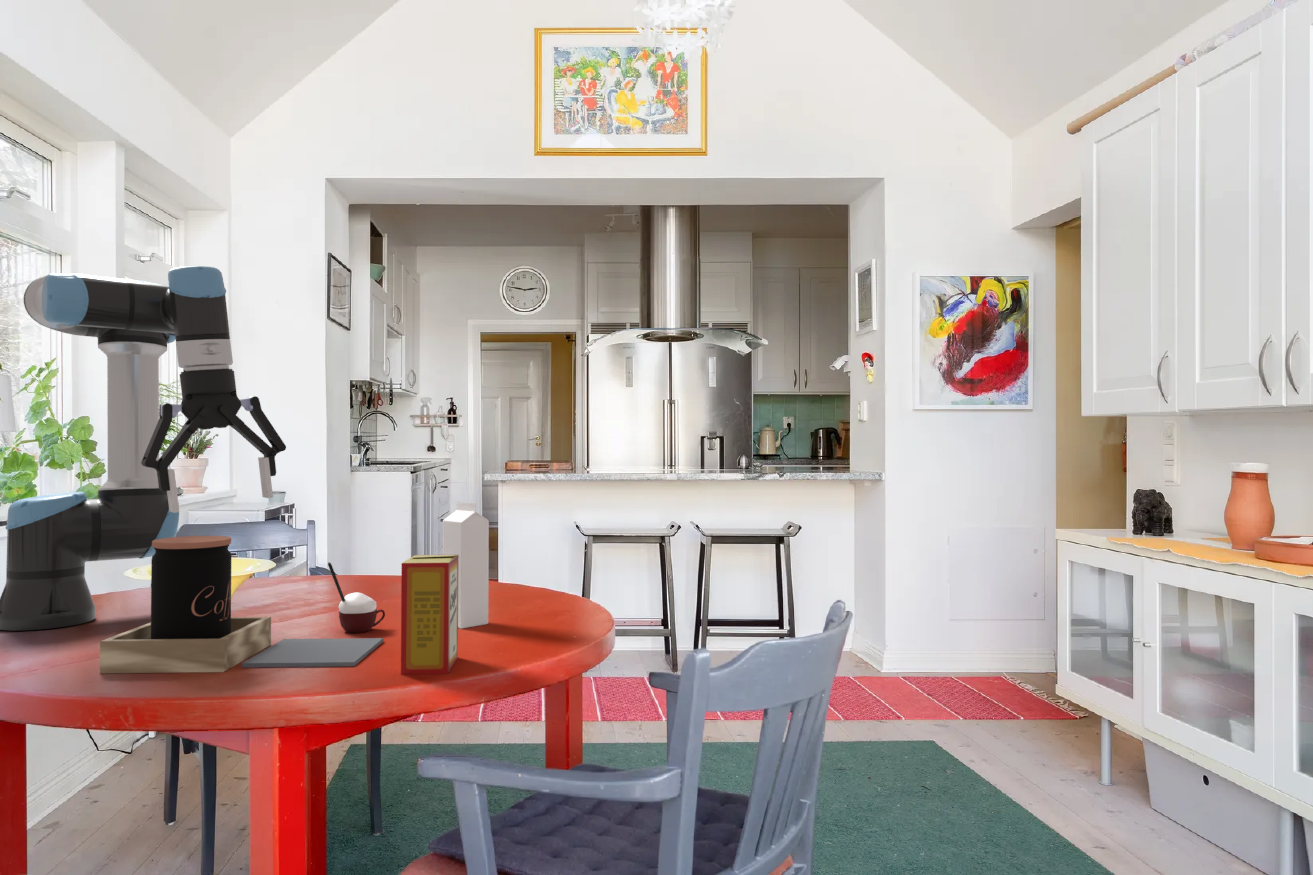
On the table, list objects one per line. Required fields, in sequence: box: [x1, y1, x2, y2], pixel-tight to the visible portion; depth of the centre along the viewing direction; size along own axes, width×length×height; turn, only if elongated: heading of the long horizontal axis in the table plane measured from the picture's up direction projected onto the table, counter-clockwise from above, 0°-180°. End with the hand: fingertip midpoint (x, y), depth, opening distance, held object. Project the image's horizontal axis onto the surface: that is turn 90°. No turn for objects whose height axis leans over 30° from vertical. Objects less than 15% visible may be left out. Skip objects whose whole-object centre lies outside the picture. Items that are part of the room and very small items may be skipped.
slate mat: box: [241, 637, 384, 668], centre depth 133 cm, size 16×16×1 cm
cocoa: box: [327, 561, 386, 634], centre depth 150 cm, size 10×6×12 cm, turn 94°
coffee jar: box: [150, 535, 232, 639], centre depth 130 cm, size 11×11×18 cm
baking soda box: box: [400, 554, 459, 676], centre depth 126 cm, size 10×6×16 cm
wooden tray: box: [99, 616, 272, 674], centre depth 130 cm, size 17×17×4 cm
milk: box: [442, 501, 490, 629], centre depth 156 cm, size 6×6×22 cm
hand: (222, 504), depth 135 cm, fingers open, 13 cm apart
